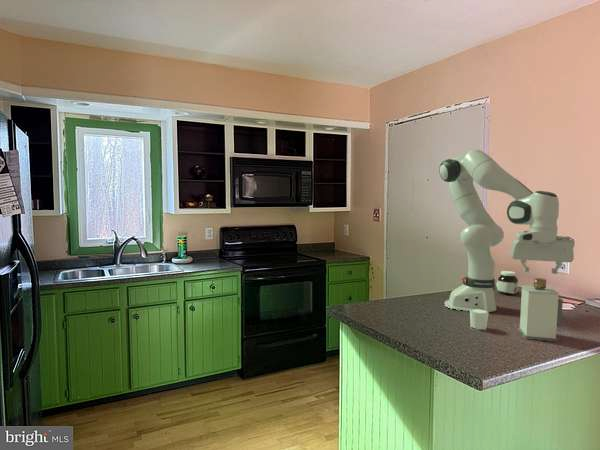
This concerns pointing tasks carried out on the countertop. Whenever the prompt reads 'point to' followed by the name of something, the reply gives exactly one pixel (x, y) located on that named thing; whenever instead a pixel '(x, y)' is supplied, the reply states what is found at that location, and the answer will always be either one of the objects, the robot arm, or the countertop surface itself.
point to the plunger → (539, 283)
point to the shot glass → (478, 318)
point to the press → (540, 313)
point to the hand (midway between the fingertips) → (540, 272)
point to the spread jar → (507, 283)
